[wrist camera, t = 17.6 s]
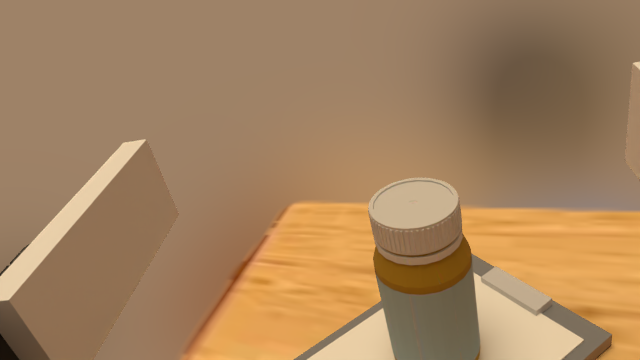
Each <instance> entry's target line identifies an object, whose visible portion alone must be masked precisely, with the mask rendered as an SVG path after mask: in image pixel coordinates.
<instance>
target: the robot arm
mask: <svg viewBox="0 0 640 360" xmlns="http://www.w3.org/2000/svg"><path fill="white" fill-rule="evenodd" d="M625 161H626V163H627V164H628V165H629V167H630V168H631V170H632V171H633V172H634V174H635V175H636V176H637V177H638V179H639V180H640V62H636V63H633V64H632V78H631V90H630V103H629V116H628V128H627V142H626V155H625ZM178 216H179V213H178V211H177V208H176V206H175V204H174V201H173V199H172V197H171V194H170V192H169V190H168V188H167V185H166V183H165V181H164V178H163V176H162V174H161V171H160V169H159V167H158V165H157V162H156V160H155V158H154V155H153V153H152V151H151V148H150V146H149V144H148V141H147V140H146V139H145V140H139V141H132V142H127V143H123V144H122V145H121V146H120V147H119V148H118V150H117V151H116V152H115V153H114V154H113V155H112V156H111V157H110V158H109V159H108V160H107V161H106V163H105V164H104V165H103V166H102V167H101V168H100V169H99V170H98V171H97V172H96V174H94V176H93V177H92V178H91V179H90V180H89V181H88V182H87V183H86V184H85V185H84V186H83V188H82V189H81V190H80V191H79V192H78V193H77V194H76V195H75V196H74V197H73V198H72V199H71V200H70V201H69V203H68V204H67V205H66V206H65V207H64V208H63V209H62V210H61V211H60V212H59V213H58V215H57V216H56V217H55V218H54V219H53V220H52V221H51V222H50V223H49V224H48V225H47V226H46V227H45V228H44V230H43V231H42V232H41V233H40V234H39V235H38V236H37V237H36V239H34V241H33V242H32V243H30V244H29V245H27V246H26V247H25V248H23V249H22V250H21V252H20V253H19V254H18V255H17V256H16V257H15V258H14V259H13V260H12V261H11V262H10V265H9V266H6V268H5V269H4V270H3V271H2V272H1V273H0V360H93V359H94V358H95V356H96V354H97V353H98V351H99V349H100V347H101V346H102V344H103V342H104V341H105V339H106V337H107V336H108V334H109V332H110V330H111V329H112V327H113V326H114V324H115V322H116V320H117V319H118V317H119V315H120V314H121V312H122V310H123V309H124V307H125V305H126V304H127V302H128V300H129V298H130V297H131V295H132V293H133V292H134V290H135V288H136V287H137V285H138V283H139V282H140V280H141V278H142V277H143V275H144V273H145V272H146V270H147V268H148V266H149V265H150V263H151V261H152V260H153V258H154V256H155V254H156V253H157V251H158V249H159V248H160V246H161V244H162V243H163V241H164V239H165V238H166V236H167V234H168V233H169V231H170V229H171V228H172V226H173V224H174V223H175V221H176V219H177V217H178Z"/></svg>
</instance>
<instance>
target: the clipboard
mask: <svg viewBox="0 0 640 360" xmlns="http://www.w3.org/2000/svg"><path fill="white" fill-rule="evenodd" d="M471 255H472V263H473V273H474V283H475V293H476V303H477V313H478V323H479V333H480V356H479V359H478V360H595V359H596V358H597V357H598V356H600V355H601V354H602V353H603V352H604V351H605V350H606V349H607V348H608V347H610V346H611V341H612V334H610V333H608V332H607V331H605V330H603V329H601V328H600V327H598V326H596V325H595V324H593V323H591V322H589V321H588V320H586V319H584V318H582V317H581V316H579V315H577V314H575V313H574V312H572V311H570V310H568V309H567V308H565V307H563V306H561V305H560V304H558V303H556V302H555V301H553V300H552V298H550V297H549V296H547V295H545V294H543V293H542V292H540V291H538V290H536V289H535V288H533V287H531V286H529V285H528V284H526V283H524V282H522V281H521V280H519V279H517V278H515V277H514V276H512V275H510V274H508V273H507V272H505V271H503V270H501V269H500V268H498V267H494V266H492V265H490V264H488V263H487V262H485V261H483V260H481V259H480V258H478V257H476V256H474V255H473V254H471ZM294 360H395V358H394V354H393V350H392V346H391V341H390V337H389V332H388V328H387V323H386V319H385V314H384V310H383V305H382V301H381V302H379V303H378V304H376V305H375V306H373V307H372V308H370V309H369V310H367V311H366V312H364V313H363V314H361V315H360V316H358V317H357V318H355V319H354V320H352V321H351V322H349V323H348V324H346V325H345V326H343V327H342V328H340V329H339V330H337V331H336V332H334V333H333V334H331V335H330V336H328V337H327V338H325V339H324V340H322V341H321V342H319V343H318V344H316V345H315V346H313V347H312V348H310V349H309V350H307V351H306V352H304V353H303V354H301V355H300V356H298V357H297V358H295V359H294Z"/></svg>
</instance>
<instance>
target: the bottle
mask: <svg viewBox="0 0 640 360" xmlns="http://www.w3.org/2000/svg"><path fill="white" fill-rule="evenodd" d="M368 209H369V210H368V212H369V218H370V222H371V227H372V232H373V235H374V240H375V244H376V247H375V252H374V257H373V260H374V267H375V273H376V278H377V282H378V287H379V291H380V296H381V301H382V305H383V310H384V314H385V319H386V323H387V328H388V332H389V337H390V341H391V346H392V350H393V354H394V358H395V360H478V359H479V356H480V333H479V323H478V313H477V303H476V293H475V283H474V273H473V263H472V255H471V249H470V246H469V244H468V242H467V240H466V238H465V237H464V235H463V233H462V218H461V209H460V200H459V197H458V194H457V192H456V191H455V189H454V188H453V187H452V186H451V185H449V184H447V183H446V182H443V181H440V180H437V179H431V178H411V179H405V180H401V181H397V182H394V183H392V184H390V185H387V186H385V187H384V188H382V189H381V190H379V191H378V192H377V193H376V194H375V195H374V196H373V197H372V199H371V201H370V203H369V208H368Z"/></svg>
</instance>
